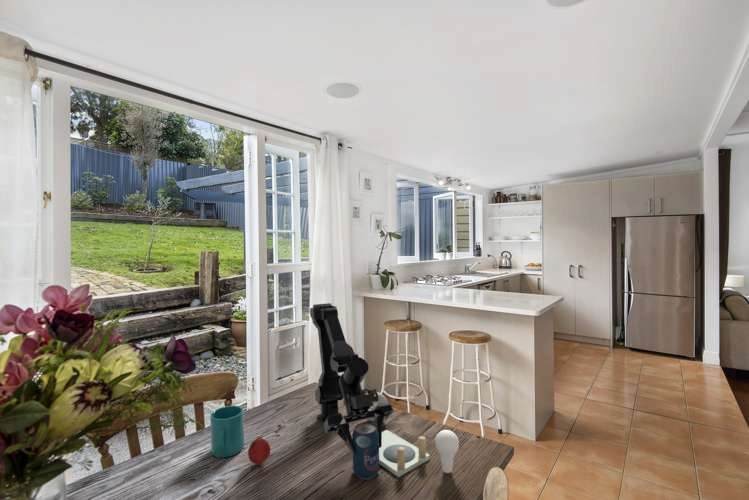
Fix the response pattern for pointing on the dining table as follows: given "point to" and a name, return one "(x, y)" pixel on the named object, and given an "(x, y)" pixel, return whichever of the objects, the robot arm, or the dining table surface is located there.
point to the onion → (259, 451)
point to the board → (395, 441)
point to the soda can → (366, 450)
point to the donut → (378, 402)
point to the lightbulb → (447, 448)
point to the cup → (227, 431)
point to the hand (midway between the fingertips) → (367, 450)
